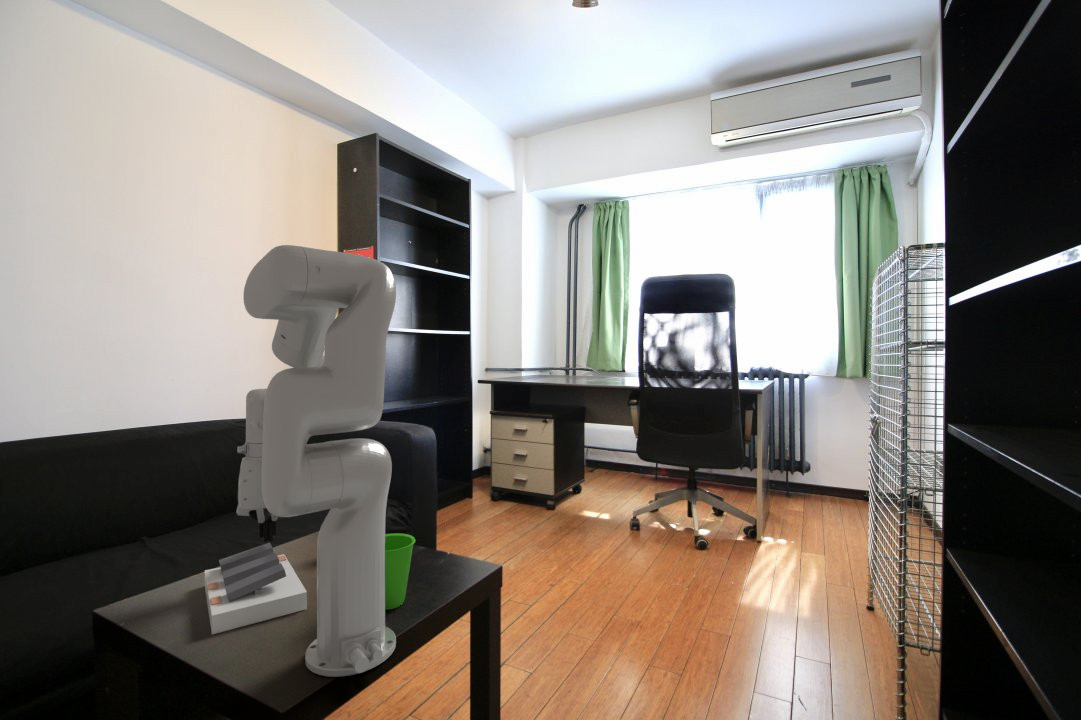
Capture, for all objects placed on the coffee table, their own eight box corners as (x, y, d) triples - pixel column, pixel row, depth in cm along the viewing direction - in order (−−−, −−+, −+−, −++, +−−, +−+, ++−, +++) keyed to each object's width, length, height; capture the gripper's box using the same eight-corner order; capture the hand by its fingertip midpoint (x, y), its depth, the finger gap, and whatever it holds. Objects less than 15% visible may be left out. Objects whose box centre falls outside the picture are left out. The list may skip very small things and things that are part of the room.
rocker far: (273, 554, 102) (272, 547, 101) (221, 572, 96) (220, 565, 96) (271, 548, 104) (269, 542, 104) (220, 566, 99) (218, 560, 99)
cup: (426, 599, 92) (426, 538, 92) (387, 620, 85) (386, 554, 85) (392, 587, 97) (392, 530, 97) (352, 607, 89) (352, 544, 90)
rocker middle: (279, 565, 96) (278, 558, 96) (224, 585, 91) (223, 578, 91) (276, 559, 99) (275, 552, 99) (223, 579, 94) (221, 571, 93)
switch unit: (306, 609, 89) (306, 587, 89) (211, 634, 81) (211, 611, 81) (284, 568, 107) (284, 550, 107) (204, 586, 98) (204, 566, 98)
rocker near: (286, 576, 90) (284, 569, 90) (228, 601, 85) (226, 594, 85) (282, 569, 93) (280, 562, 93) (227, 594, 88) (224, 586, 88)
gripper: (225, 456, 95) (225, 554, 95) (310, 448, 104) (310, 537, 104) (222, 450, 101) (222, 542, 101) (303, 443, 110) (303, 528, 110)
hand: (267, 539), depth 103 cm, fingers closed
